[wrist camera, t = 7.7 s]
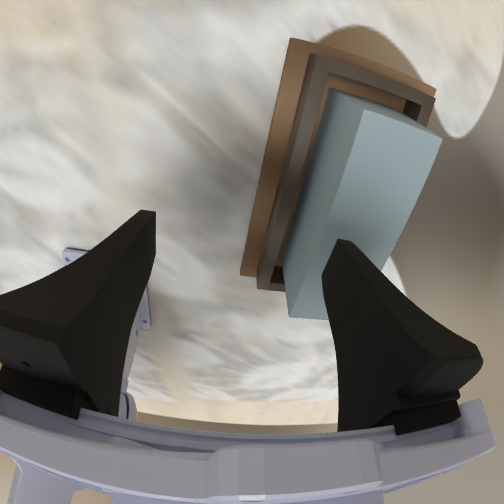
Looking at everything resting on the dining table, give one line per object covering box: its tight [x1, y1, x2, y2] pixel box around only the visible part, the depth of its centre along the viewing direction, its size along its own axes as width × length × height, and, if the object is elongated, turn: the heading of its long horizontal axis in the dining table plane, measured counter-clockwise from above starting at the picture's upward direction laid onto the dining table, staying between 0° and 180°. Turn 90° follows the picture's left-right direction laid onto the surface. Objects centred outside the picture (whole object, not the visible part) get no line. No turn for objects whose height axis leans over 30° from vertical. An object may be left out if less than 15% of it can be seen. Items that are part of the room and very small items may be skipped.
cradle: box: [240, 38, 436, 292], centre depth 19 cm, size 18×10×3 cm, turn 170°
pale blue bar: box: [281, 87, 442, 320], centre depth 18 cm, size 13×4×6 cm, turn 170°
